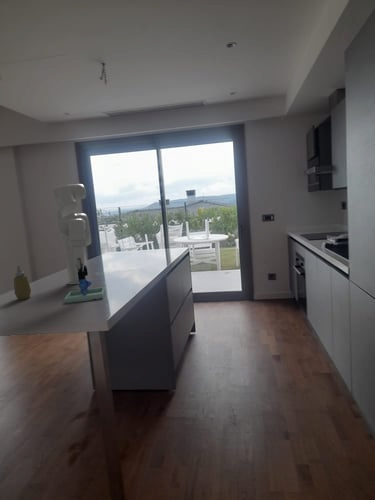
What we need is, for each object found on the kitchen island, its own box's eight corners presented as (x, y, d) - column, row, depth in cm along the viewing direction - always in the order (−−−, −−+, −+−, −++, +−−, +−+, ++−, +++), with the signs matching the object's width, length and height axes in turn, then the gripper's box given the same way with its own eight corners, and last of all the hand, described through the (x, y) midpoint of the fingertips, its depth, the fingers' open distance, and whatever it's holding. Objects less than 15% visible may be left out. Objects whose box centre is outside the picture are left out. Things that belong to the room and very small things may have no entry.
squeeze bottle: (25, 300, 176) (19, 267, 173) (12, 300, 177) (6, 267, 175) (35, 296, 183) (30, 264, 181) (22, 296, 185) (17, 264, 183)
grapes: (92, 297, 166) (89, 274, 164) (78, 299, 165) (74, 277, 162) (94, 290, 178) (90, 268, 175) (81, 292, 176) (77, 270, 174)
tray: (70, 296, 175) (69, 291, 175) (105, 291, 178) (104, 287, 178) (65, 303, 162) (64, 298, 161) (102, 298, 164) (102, 293, 164)
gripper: (73, 242, 174) (78, 275, 176) (67, 246, 157) (72, 282, 159) (88, 241, 175) (93, 273, 177) (83, 244, 158) (88, 280, 160)
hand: (83, 277), depth 168 cm, fingers closed on grapes, 8 cm apart
